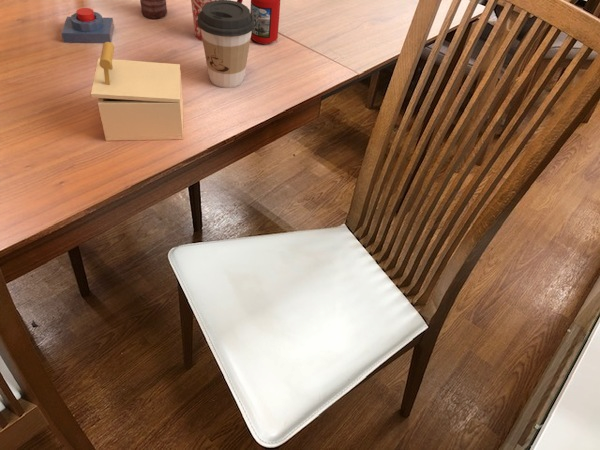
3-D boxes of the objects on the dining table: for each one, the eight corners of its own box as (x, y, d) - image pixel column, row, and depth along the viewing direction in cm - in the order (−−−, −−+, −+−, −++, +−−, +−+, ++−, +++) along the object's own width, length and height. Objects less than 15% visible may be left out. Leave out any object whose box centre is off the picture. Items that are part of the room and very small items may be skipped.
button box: (63, 42, 112) (59, 25, 110) (69, 25, 118) (65, 8, 115) (111, 43, 114) (107, 26, 111) (114, 26, 120) (111, 9, 117)
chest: (105, 140, 91) (97, 103, 85) (111, 104, 99) (104, 67, 93) (183, 139, 93) (180, 103, 88) (183, 103, 101) (180, 68, 95)
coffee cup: (190, 84, 106) (185, 14, 95) (214, 60, 113) (212, -8, 103) (239, 99, 104) (240, 28, 93) (261, 73, 112) (264, 6, 101)
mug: (196, 46, 117) (192, -14, 107) (186, 28, 123) (183, -31, 113) (248, 41, 121) (249, -17, 111) (237, 23, 127) (237, -33, 117)
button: (76, 22, 112) (75, 14, 111) (79, 15, 114) (77, 7, 113) (94, 22, 113) (92, 15, 111) (95, 15, 115) (94, 7, 114)
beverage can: (243, 37, 122) (244, -14, 113) (264, 30, 126) (267, -20, 117) (262, 48, 119) (265, -3, 111) (283, 41, 123) (287, -10, 114)
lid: (91, 97, 84) (86, 67, 80) (98, 61, 92) (95, 32, 88) (179, 102, 88) (180, 74, 84) (179, 68, 95) (180, 40, 91)
